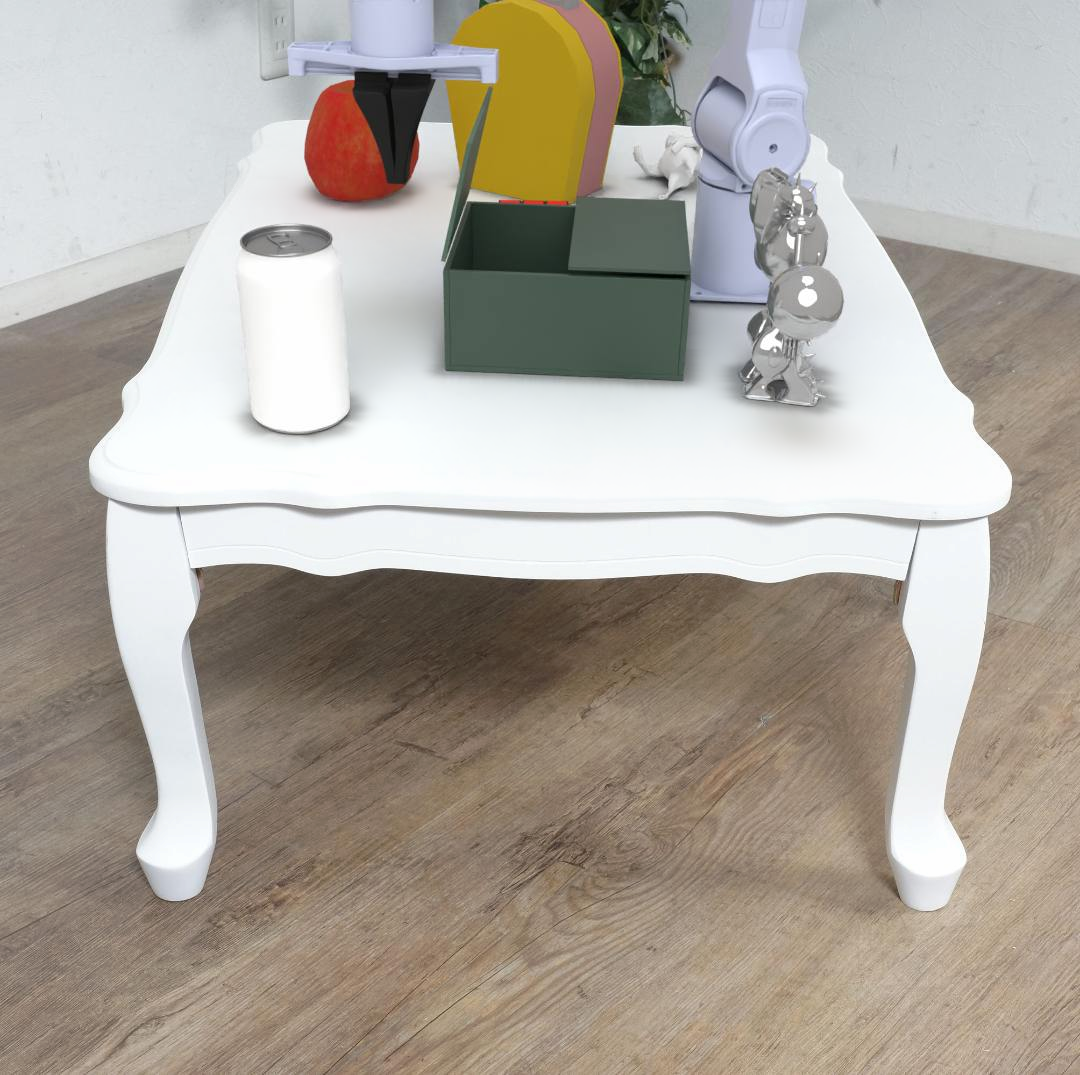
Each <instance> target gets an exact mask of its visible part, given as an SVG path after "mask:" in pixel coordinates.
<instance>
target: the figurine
mask: <svg viewBox="0 0 1080 1075" xmlns="http://www.w3.org/2000/svg"><path fill="white" fill-rule="evenodd" d="M664 148H665V150H664V151H663V153H662V154H661V156H660V158H659V159H658V162H656V163H654V164H650V165H649V164H648V163H647V162H646V160H645V158H644V156H643V151H642V148H641V145H636V146H633V152H632V156H633V159H634V161H635V162H636V163H637V164H638V165H639V167H640V168H641V170H642V171H643V173H644V174H645V175H648V176H650V177H654V178H666V180H667V181H668V184H667V185H668V191H667V192H666V194H658V198H657V199H658V200H667V199H668V198H669V196H670V195H671V194H672V193H674V192H675V191H676V190H678V189H685V188H687V187H688V186H690V185H691V184H692V183H693V182H694V181H695V180H696V179H695V175H698V172H699V166H700V163H701V161H702V155H701V152H700V151H701V149H702V148H701V147H700V146H699V145H698V144H697V142H696V141H695V139H694V136H693V135H691V136H689V137H686V136H685V135H684V134H682V133H678V132H674V131H672V132H671V133H669V134H668V135H667V138H666V140H665V144H664Z"/></svg>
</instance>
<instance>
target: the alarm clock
mask: <svg viewBox="0 0 1080 1075" xmlns="http://www.w3.org/2000/svg"><path fill="white" fill-rule="evenodd" d="M450 45H458V46H466V47H475V48H486V49H498V50H499V78H498V81H497V83H496V84H485V83H481V81H471V80H445V86H446V93H447V99H448V105H449V111H450V112H449V113H450V119H451V126H452V131H453V138H454V144H455V150H456V157H457V164H458V170H459V174H460V173H461V168H462V163H463V159H464V154H465V150H466V145H467V142H468V139H469V137H470V134H471V132H472V129H473V127H474V124H475V121H476V119H477V116H478V114H479V111H480V109H481V106H482V103H483V101H484V98H485V96H486V93H487V91H488V88H489V87H493V90H492V94H491V99H490V103H489V108H488V112H487V116H486V121H485V125H484V130H483V134H482V138H481V143H480V147H479V152H478V156H477V161H476V165H475V169H474V174H473V178H472V183H471V187H470V189H474V190H478V191H483V192H487V193H491V194H496V195H501V196H506V197H510V198H514V199H517V200H522V201H523V200H530V201H568V205H572V204H573V203H574V202H576V200H577V197H587V196H588V195H590V194H593V193H594V192H596V191H598V190H600V189H602V187H603V183H604V178H605V173H606V169H607V163H608V159H609V154H610V148H611V143H612V139H613V135H614V129H615V124H616V120H617V115H618V111H619V107H620V102H621V97H622V93H623V90H624V89H623V88H624V77H623V67H622V58H621V51H620V48H619V46H618V44H617V43H616V40H615V38H614V36H613V34H612V32H611V30H610V27H609V25H608V23H607V21H606V20H605V19H604V18H603V17H602V16H601V15H600V14H599V13H598V12H597V11H596V10H595V9H594V8H593V7H592V6H591V5H590V4H589V3H588V2H587V1H586V0H499V1H495V2H490V3H488V4H485V5H483V6H482V7H480V8H479V9H478V10H476V11H475V12H473V13H472V14H471V15H469V16H468V17H467V18H464V19H463V20H462V22H461V24H460V26H459V27H458V29H457V31H456V33H455V35H454V37H453V38H452V40H451V42H450Z"/></svg>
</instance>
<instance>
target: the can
mask: <svg viewBox="0 0 1080 1075" xmlns="http://www.w3.org/2000/svg"><path fill="white" fill-rule="evenodd" d="M333 240H334V238H333V235H332V234H331V232H330V231H328V230H327V229H324V228H322V227H319V226H316V225H311V224H303V223H278V224H271V225H265V226H260V227H257V228H254V229H251V230H249V231H247V232H246V233H244V234H242V235H241V237H240V240H239V244H240V247H241V249H240V252H239V254H238V258H237V260H236V264H235V273H236V286H237V293H238V294H237V295H238V303H239V312H240V313H239V314H240V322H241V332H242V340H243V342H242V343H243V350H244V351H243V352H244V358H245V367H246V368H245V369H246V376H247V385H248V392H249V393H248V395H249V401H250V409H251V410H250V411H251V414H252V416H253V418H254V419H255V420H256V421H257V422H258V423H259V424H260V425H261V426H262V427H264V428H265V429H268V430H270V431H273V432H276V433H281V434H286V435H287V434H288V435H289V434H290V435H307V434H314V433H318V432H321V431H324V430H328V429H330V428H332V427H334V426H336V425H338V424H339V423H340V422H342V421H343V419H344V418H345V417H346V416H347V414H348V413H349V411H350V408H351V396H350V394H351V393H350V380H349V379H350V378H349V360H348V346H347V331H346V329H347V328H346V316H345V299H344V286H343V272H342V264H341V259H340V256H339V254H338V252H337V251H336V249H335V247H334V245H333V243H332V242H333Z"/></svg>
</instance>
